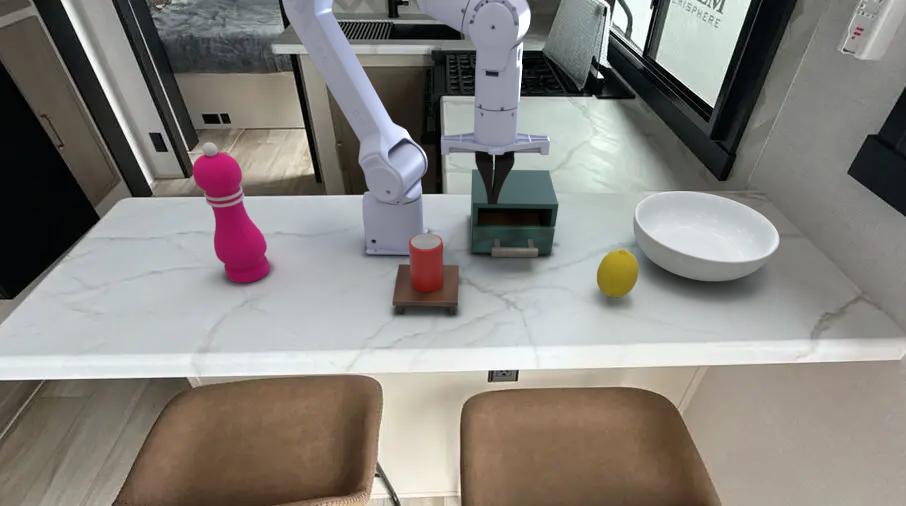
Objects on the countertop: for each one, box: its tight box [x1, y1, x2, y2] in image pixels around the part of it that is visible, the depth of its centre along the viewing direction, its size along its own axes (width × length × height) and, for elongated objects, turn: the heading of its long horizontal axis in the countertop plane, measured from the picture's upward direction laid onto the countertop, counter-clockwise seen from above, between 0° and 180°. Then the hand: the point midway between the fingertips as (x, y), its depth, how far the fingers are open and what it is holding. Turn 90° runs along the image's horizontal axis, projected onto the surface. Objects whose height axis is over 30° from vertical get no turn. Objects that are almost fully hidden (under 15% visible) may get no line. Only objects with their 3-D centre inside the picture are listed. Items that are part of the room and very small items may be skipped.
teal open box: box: [470, 168, 559, 255], centre depth 85 cm, size 13×12×9 cm
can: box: [408, 232, 444, 292], centre depth 71 cm, size 5×5×7 cm
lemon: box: [596, 248, 639, 298], centre depth 72 cm, size 6×6×8 cm
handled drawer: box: [473, 213, 556, 258], centre depth 83 cm, size 13×16×4 cm
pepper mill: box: [192, 141, 270, 284], centre depth 72 cm, size 7×7×20 cm
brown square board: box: [392, 263, 460, 315], centre depth 74 cm, size 9×9×2 cm
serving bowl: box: [632, 190, 780, 282], centre depth 80 cm, size 21×21×7 cm
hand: (492, 201), depth 75 cm, fingers closed
